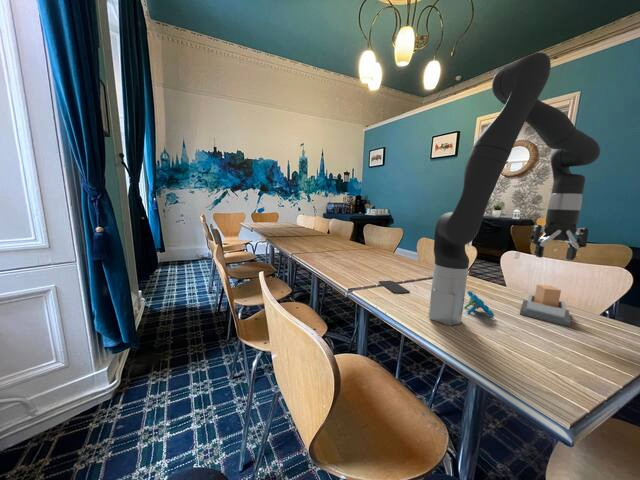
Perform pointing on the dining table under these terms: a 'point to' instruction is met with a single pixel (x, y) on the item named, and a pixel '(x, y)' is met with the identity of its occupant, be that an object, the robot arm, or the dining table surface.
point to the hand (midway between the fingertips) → (554, 258)
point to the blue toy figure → (477, 304)
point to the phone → (394, 287)
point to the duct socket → (546, 312)
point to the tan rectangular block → (547, 295)
